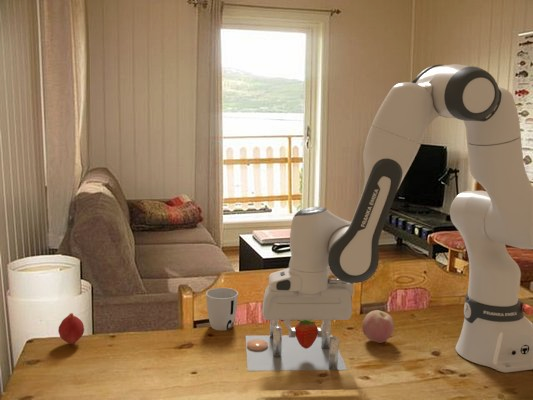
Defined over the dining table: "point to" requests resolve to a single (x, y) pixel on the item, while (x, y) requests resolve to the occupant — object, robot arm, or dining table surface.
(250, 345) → the pad
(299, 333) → the fruit
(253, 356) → the board
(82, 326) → the onion
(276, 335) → the posts
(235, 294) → the cup
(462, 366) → the dining table surface
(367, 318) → the apple
